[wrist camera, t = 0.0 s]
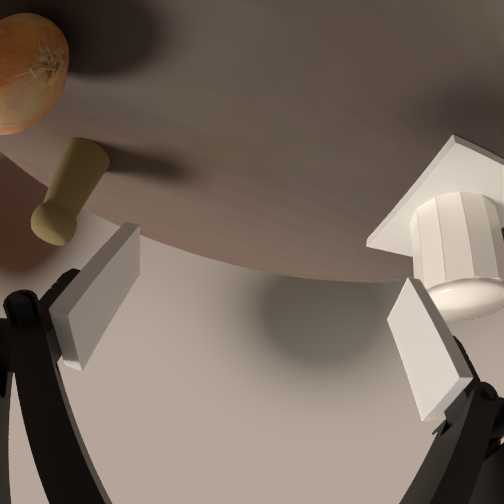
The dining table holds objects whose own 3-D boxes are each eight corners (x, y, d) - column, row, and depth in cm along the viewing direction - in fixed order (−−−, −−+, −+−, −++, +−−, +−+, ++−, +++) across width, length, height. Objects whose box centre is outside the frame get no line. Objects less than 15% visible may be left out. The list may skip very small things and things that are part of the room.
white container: (426, 186, 27) (438, 285, 23) (510, 199, 25) (529, 290, 21) (402, 239, 37) (404, 319, 32) (474, 245, 34) (481, 321, 30)
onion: (112, 60, 21) (48, 148, 17) (41, 92, 24) (-13, 171, 20) (58, -28, 13) (-39, 44, 8) (-8, 27, 16) (-80, 102, 11)
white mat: (452, 134, 22) (455, 142, 22) (544, 182, 22) (547, 190, 22) (366, 239, 40) (366, 246, 40) (449, 259, 41) (450, 265, 40)
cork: (112, 147, 31) (70, 237, 27) (108, 177, 36) (74, 257, 32) (64, 131, 29) (17, 217, 25) (66, 162, 34) (28, 240, 30)
